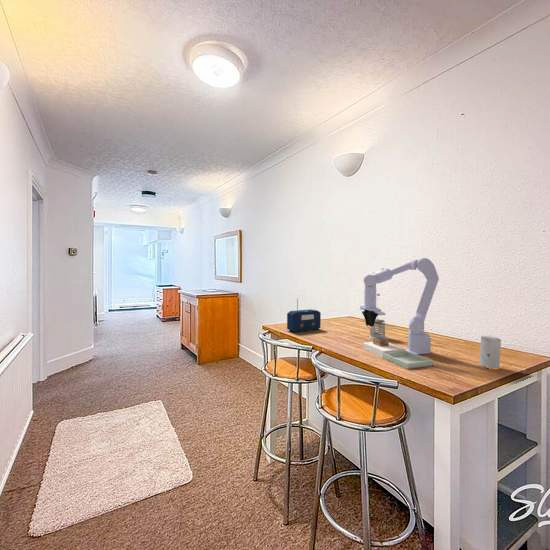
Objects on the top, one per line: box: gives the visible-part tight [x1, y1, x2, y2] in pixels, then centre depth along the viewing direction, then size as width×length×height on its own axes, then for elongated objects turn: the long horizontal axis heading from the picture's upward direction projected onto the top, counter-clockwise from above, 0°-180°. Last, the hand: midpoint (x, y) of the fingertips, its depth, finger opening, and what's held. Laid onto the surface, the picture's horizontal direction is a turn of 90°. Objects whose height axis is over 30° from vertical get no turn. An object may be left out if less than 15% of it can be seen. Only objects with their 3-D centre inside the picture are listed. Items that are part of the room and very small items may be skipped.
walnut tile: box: [372, 338, 390, 346], centre depth 143 cm, size 5×5×2 cm
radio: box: [286, 298, 322, 333], centre depth 189 cm, size 21×9×20 cm, turn 119°
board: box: [362, 341, 406, 358], centre depth 141 cm, size 12×15×3 cm
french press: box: [365, 293, 388, 340], centre depth 170 cm, size 10×12×25 cm
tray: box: [381, 351, 434, 370], centre depth 127 cm, size 13×15×2 cm
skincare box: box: [478, 335, 502, 369], centre depth 120 cm, size 6×4×12 cm
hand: (369, 325), depth 151 cm, fingers closed
